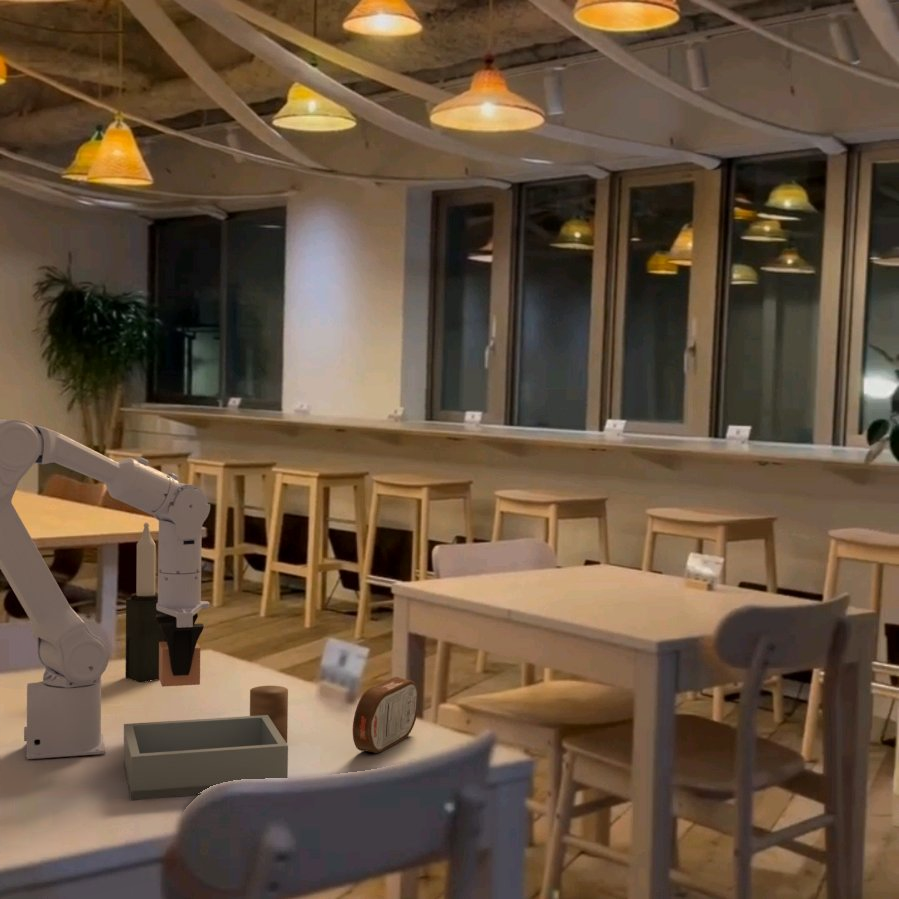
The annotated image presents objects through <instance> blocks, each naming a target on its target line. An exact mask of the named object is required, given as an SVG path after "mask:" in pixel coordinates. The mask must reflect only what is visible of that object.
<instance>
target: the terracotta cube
mask: <svg viewBox="0 0 899 899" xmlns="http://www.w3.org/2000/svg"><path fill="white" fill-rule="evenodd" d="M158 681H159V682H160V684H161V687H163V688H164V687H177V686H178V687H182V686H198V685H201V646H200V645H199V643H198V642H197V643H196V646H195V650H194V654H193V660H192V665H191V669H190V672H189V675H180V676H173V673H172V669H171V664H170V657H169V650H168V645H167V642H159V680H158Z"/></svg>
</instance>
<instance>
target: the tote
mask: <svg viewBox="0 0 899 899" xmlns="http://www.w3.org/2000/svg"><path fill="white" fill-rule="evenodd" d="M288 762H289V745H288V742H287V743H286V742H285V740H284V739H283V737H282V736H281V734H280V733H279V731H278V730H277V728H276V727H275V725H274V724H273V722H272V721H271V719H270V717H269V716H268V715H259V716H250V715H248V716H247V715H246V716H231V717H213V718H197V719H183V720H168V721H151V722H150V721H149V722H137V723H136V722H135V723H133V722H132V723H123V767H124V773H125V778H126V781H127V788H128V792H129V798H130V801H132V800H135V801H137V800H147V799H158V798H159V799H160V798H173V797H185V796H197V795H196V794H198V793H200V792H202V791H203V790H205V789H207V788H209V787H210V786H213V785H216V784H220V783H223V782H228V781H233V780H241V779H265V778H288V774H289V772H288V769H289V768H288V767H289V763H288ZM288 779H289V778H288Z"/></svg>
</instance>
